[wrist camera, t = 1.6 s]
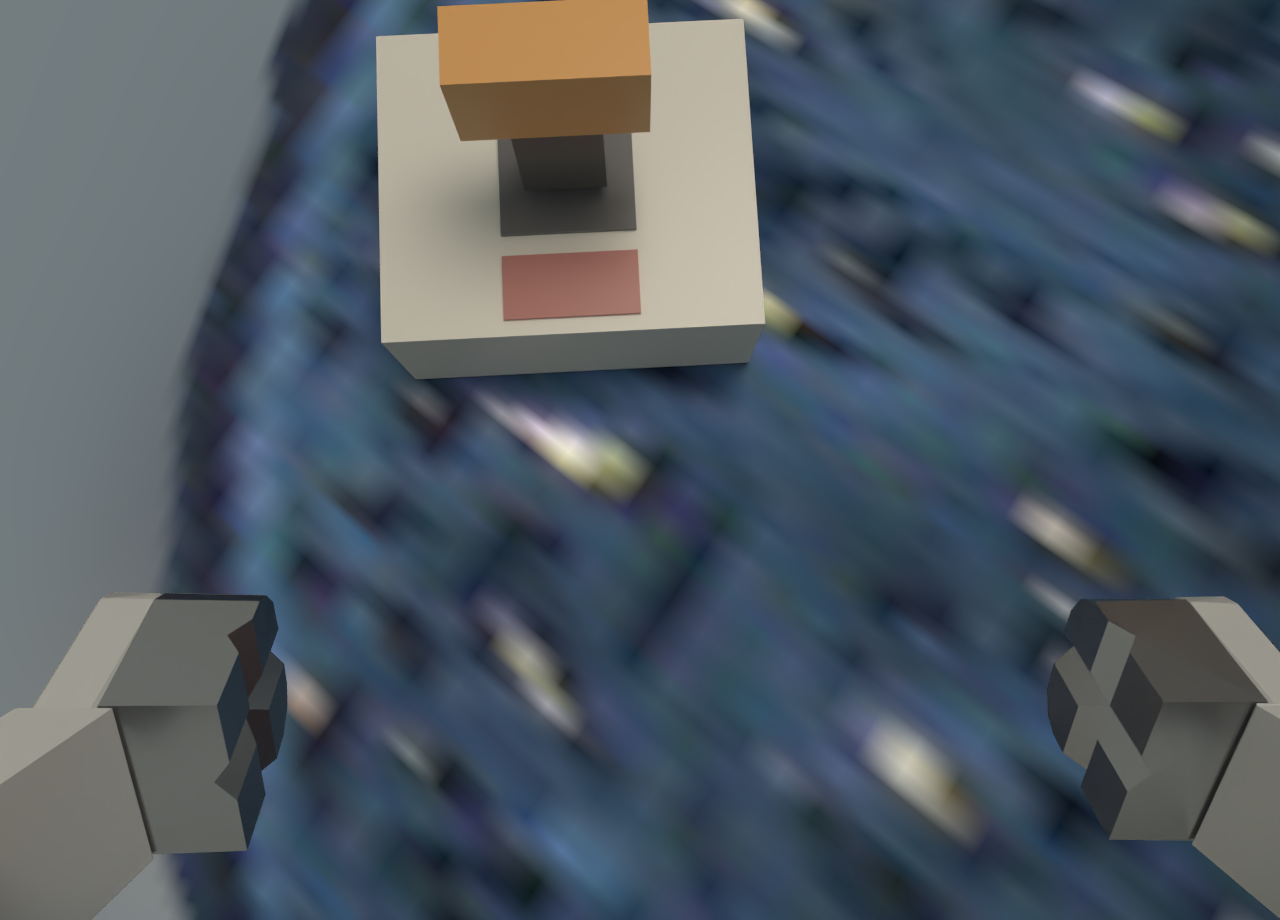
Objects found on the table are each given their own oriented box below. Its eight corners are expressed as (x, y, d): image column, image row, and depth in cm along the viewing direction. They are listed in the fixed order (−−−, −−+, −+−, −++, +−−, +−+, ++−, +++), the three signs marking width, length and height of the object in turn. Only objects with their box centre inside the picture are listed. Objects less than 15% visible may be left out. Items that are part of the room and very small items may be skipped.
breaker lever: (648, 195, 39) (651, 74, 30) (484, 203, 39) (439, 85, 30) (645, 133, 39) (646, -4, 31) (482, 141, 39) (437, 6, 31)
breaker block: (748, 362, 45) (765, 322, 39) (410, 379, 45) (374, 341, 39) (729, 95, 47) (743, 15, 41) (405, 111, 47) (369, 34, 40)
